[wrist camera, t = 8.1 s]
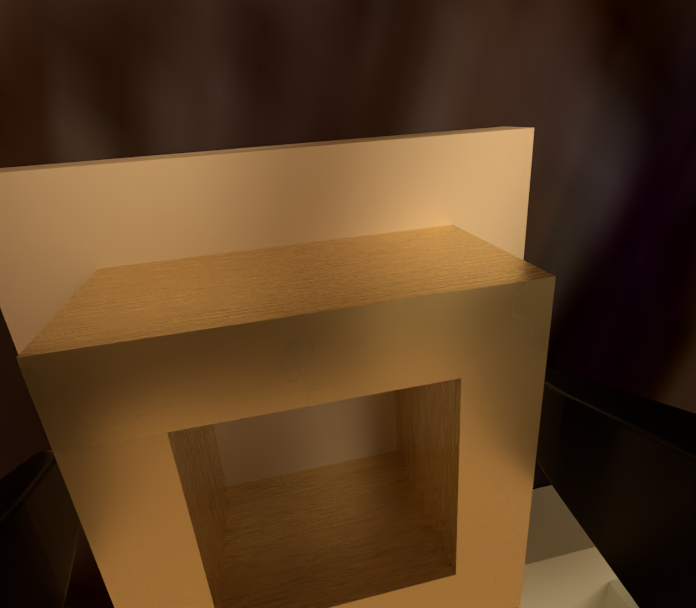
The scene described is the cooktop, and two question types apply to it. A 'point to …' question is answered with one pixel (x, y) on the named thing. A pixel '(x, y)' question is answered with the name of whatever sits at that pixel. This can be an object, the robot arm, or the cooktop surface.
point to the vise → (565, 561)
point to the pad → (256, 242)
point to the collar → (296, 392)
